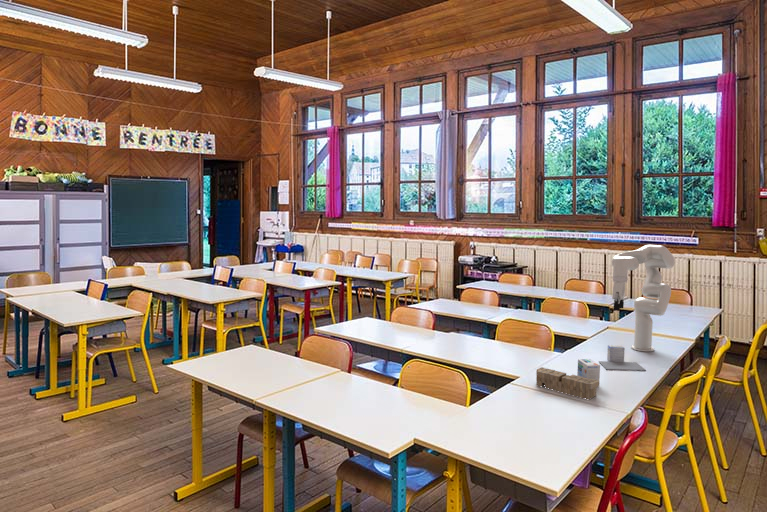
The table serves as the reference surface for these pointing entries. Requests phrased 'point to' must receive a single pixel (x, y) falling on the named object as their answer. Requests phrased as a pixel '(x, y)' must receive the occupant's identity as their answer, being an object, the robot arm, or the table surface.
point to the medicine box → (615, 353)
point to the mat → (621, 365)
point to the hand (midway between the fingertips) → (618, 309)
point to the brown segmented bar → (567, 383)
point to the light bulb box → (588, 369)
